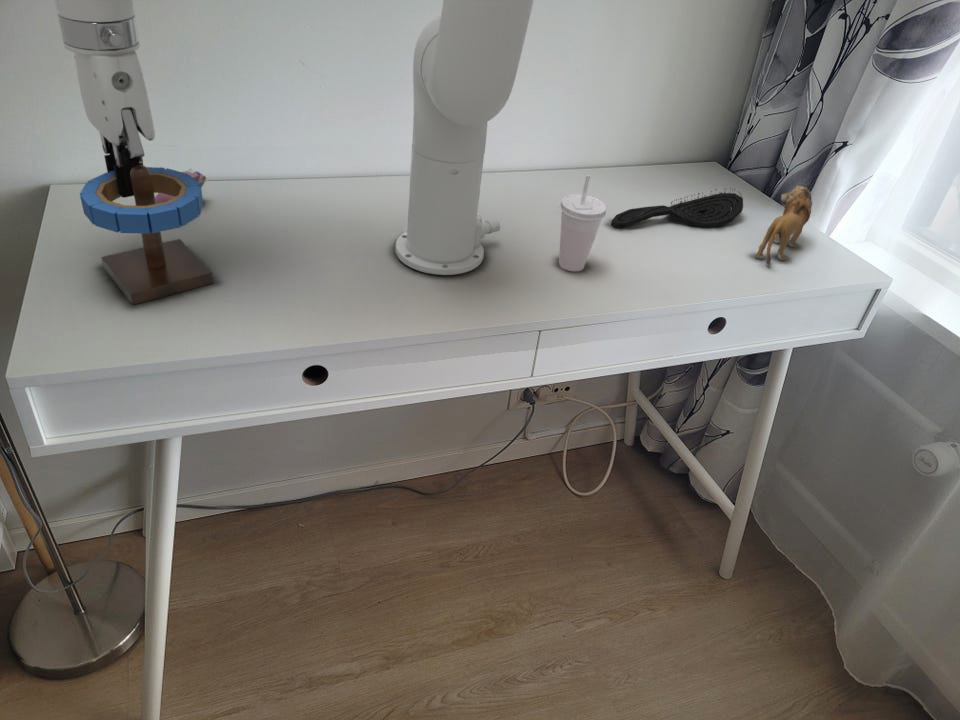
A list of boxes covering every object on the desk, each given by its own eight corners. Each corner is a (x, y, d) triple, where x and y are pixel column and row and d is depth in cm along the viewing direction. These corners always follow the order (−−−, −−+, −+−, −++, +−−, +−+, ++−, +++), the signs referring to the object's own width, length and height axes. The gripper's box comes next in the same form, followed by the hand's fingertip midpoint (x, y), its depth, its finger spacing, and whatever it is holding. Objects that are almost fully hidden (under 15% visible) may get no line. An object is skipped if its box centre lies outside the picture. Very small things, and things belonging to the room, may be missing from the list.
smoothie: (541, 265, 107) (557, 173, 99) (562, 249, 112) (580, 160, 103) (580, 281, 105) (600, 188, 96) (600, 264, 109) (621, 174, 101)
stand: (181, 249, 100) (165, 143, 91) (213, 283, 94) (199, 174, 86) (103, 267, 95) (78, 157, 86) (132, 305, 89) (108, 190, 80)
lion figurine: (769, 228, 126) (788, 178, 120) (801, 238, 124) (821, 187, 118) (750, 262, 115) (770, 209, 109) (785, 274, 113) (807, 220, 108)
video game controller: (166, 235, 106) (180, 198, 102) (136, 216, 105) (150, 179, 101) (200, 206, 113) (215, 171, 109) (173, 189, 113) (188, 153, 109)
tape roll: (176, 178, 96) (174, 160, 95) (220, 218, 89) (218, 200, 87) (70, 197, 89) (66, 178, 88) (108, 243, 82) (104, 223, 80)
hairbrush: (602, 198, 121) (726, 180, 129) (598, 219, 123) (720, 200, 132) (629, 222, 115) (757, 202, 124) (624, 243, 117) (751, 221, 126)
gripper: (163, 49, 78) (185, 209, 89) (110, 11, 88) (136, 160, 99) (88, 56, 74) (121, 223, 85) (40, 15, 83) (75, 170, 94)
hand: (128, 188), depth 92 cm, fingers closed on tape roll, 2 cm apart
